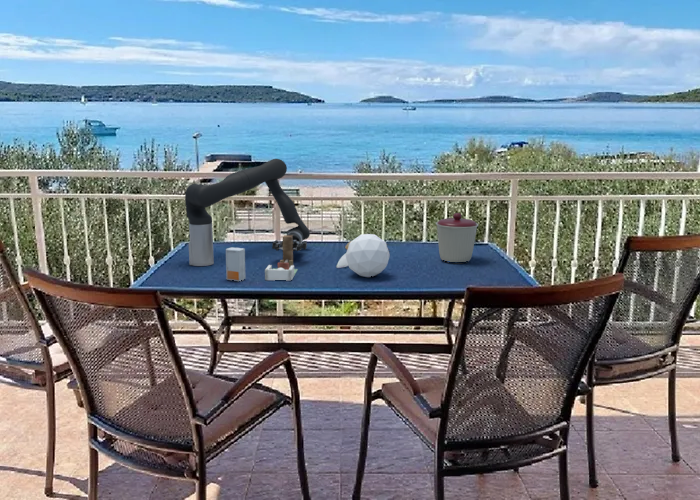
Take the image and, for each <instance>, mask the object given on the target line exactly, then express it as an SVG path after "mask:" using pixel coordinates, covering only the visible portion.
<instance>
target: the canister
mask: <svg viewBox="0 0 700 500" xmlns="http://www.w3.org/2000/svg"><path fill="white" fill-rule="evenodd" d="M462 216H463V215H462V213H461V212H455V213H454V214H453V217H452V218H451V217H450V218H449V217H447V218H442V219H439V220H438V221H436V222H435V225H436V228H437V241H438V243H437V244H438V254H439V257H440V260H442V261H443V260H445V261H450V262H466V261H468V262H469V261H470V260H471V259H472V257H473V251H474V247H475V241H476V235H477V229H478V227H479V223H477V222H476V221H475V220H472V219H468V218H463V217H462ZM445 261H444V262H445ZM466 263H467V262H466Z"/></svg>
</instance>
